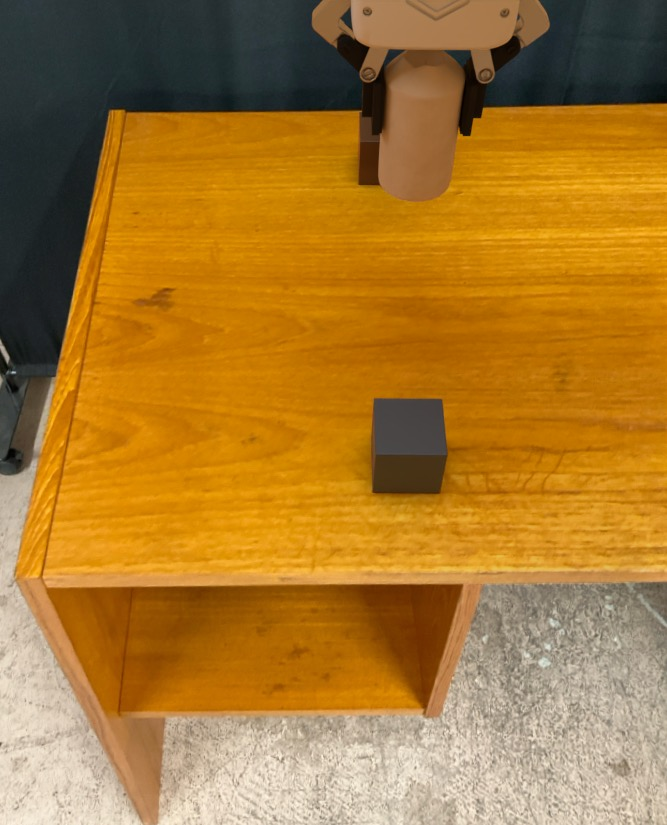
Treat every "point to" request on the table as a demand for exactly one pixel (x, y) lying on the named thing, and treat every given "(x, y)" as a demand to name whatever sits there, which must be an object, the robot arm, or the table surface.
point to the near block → (408, 445)
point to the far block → (367, 153)
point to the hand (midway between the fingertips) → (419, 122)
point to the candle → (420, 124)
